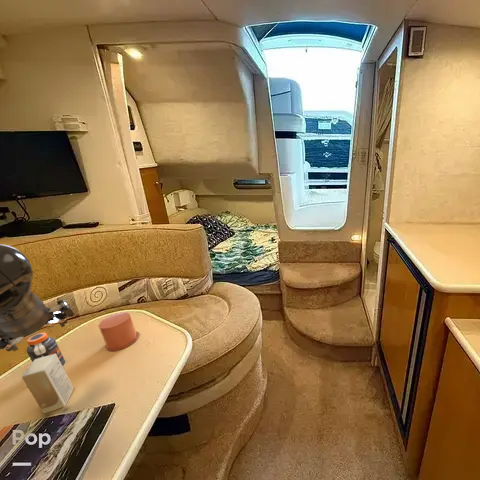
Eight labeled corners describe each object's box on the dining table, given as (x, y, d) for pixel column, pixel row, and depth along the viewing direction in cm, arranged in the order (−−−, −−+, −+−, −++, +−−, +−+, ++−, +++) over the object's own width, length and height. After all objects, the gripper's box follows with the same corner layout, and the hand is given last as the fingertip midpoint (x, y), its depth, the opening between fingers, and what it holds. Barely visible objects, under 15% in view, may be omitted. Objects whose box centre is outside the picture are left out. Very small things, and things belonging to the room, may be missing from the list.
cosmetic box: (54, 394, 71) (34, 358, 67) (74, 388, 72) (57, 352, 68) (42, 415, 65) (19, 377, 61) (64, 408, 67) (44, 370, 63)
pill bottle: (60, 371, 78) (44, 339, 75) (34, 378, 76) (16, 346, 72) (69, 357, 84) (54, 327, 80) (45, 363, 82) (28, 333, 78)
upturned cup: (99, 354, 84) (90, 331, 81) (114, 335, 93) (105, 314, 90) (132, 348, 86) (123, 326, 83) (143, 330, 94) (136, 309, 91)
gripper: (53, 279, 58) (67, 305, 69) (-49, 319, 48) (-13, 342, 60) (72, 306, 57) (83, 328, 69) (-28, 352, 47) (5, 369, 59)
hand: (38, 334), depth 64 cm, fingers open, 8 cm apart
